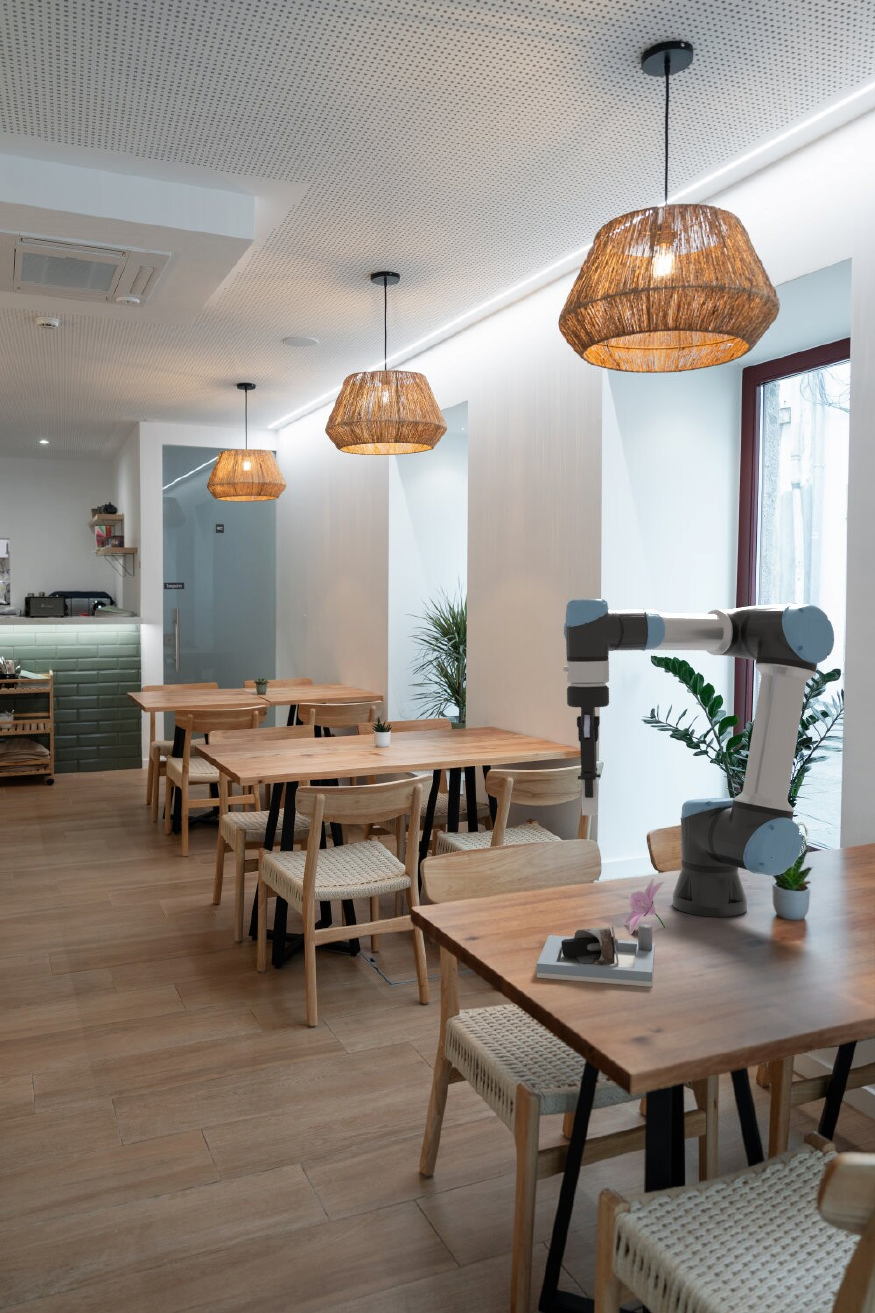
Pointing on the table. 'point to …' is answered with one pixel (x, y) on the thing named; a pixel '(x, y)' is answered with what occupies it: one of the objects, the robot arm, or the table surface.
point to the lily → (642, 905)
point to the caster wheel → (592, 946)
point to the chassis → (630, 970)
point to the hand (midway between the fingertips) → (589, 814)
